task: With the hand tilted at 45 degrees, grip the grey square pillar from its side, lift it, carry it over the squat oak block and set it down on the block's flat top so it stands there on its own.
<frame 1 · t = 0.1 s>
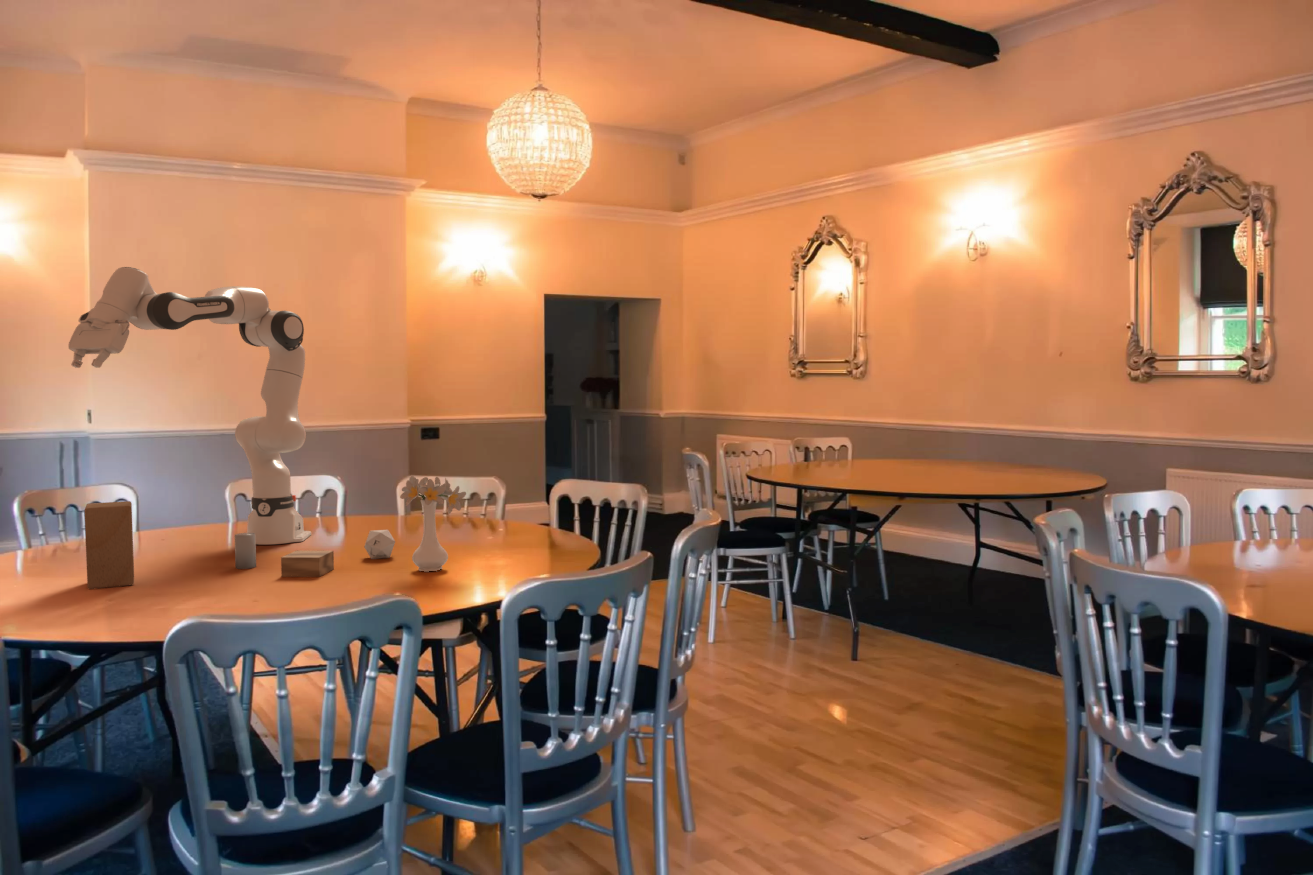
hand: (85, 366, 256), 54 cm above the table, tool tilted 30°, fingers open, 8 cm apart
wooden block: (111, 584, 246), on the table
grey square pillar: (245, 567, 267), on the table
flower vase: (433, 570, 263), on the table
die: (380, 558, 281), on the table
oak block: (308, 572, 259), on the table
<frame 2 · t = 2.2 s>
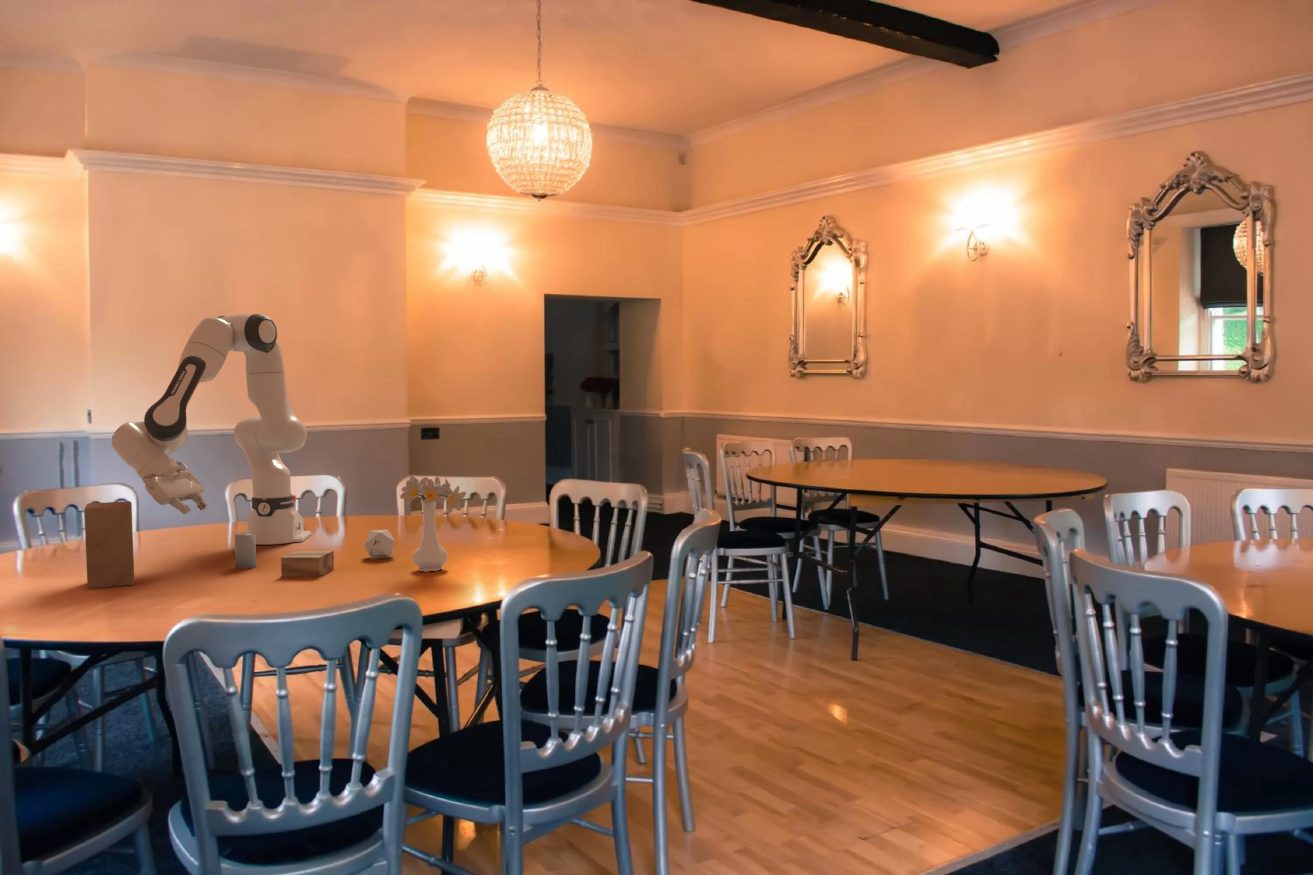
hand: (196, 510, 266), 16 cm above the table, tool tilted 45°, fingers open, 8 cm apart
nothing on the table moved.
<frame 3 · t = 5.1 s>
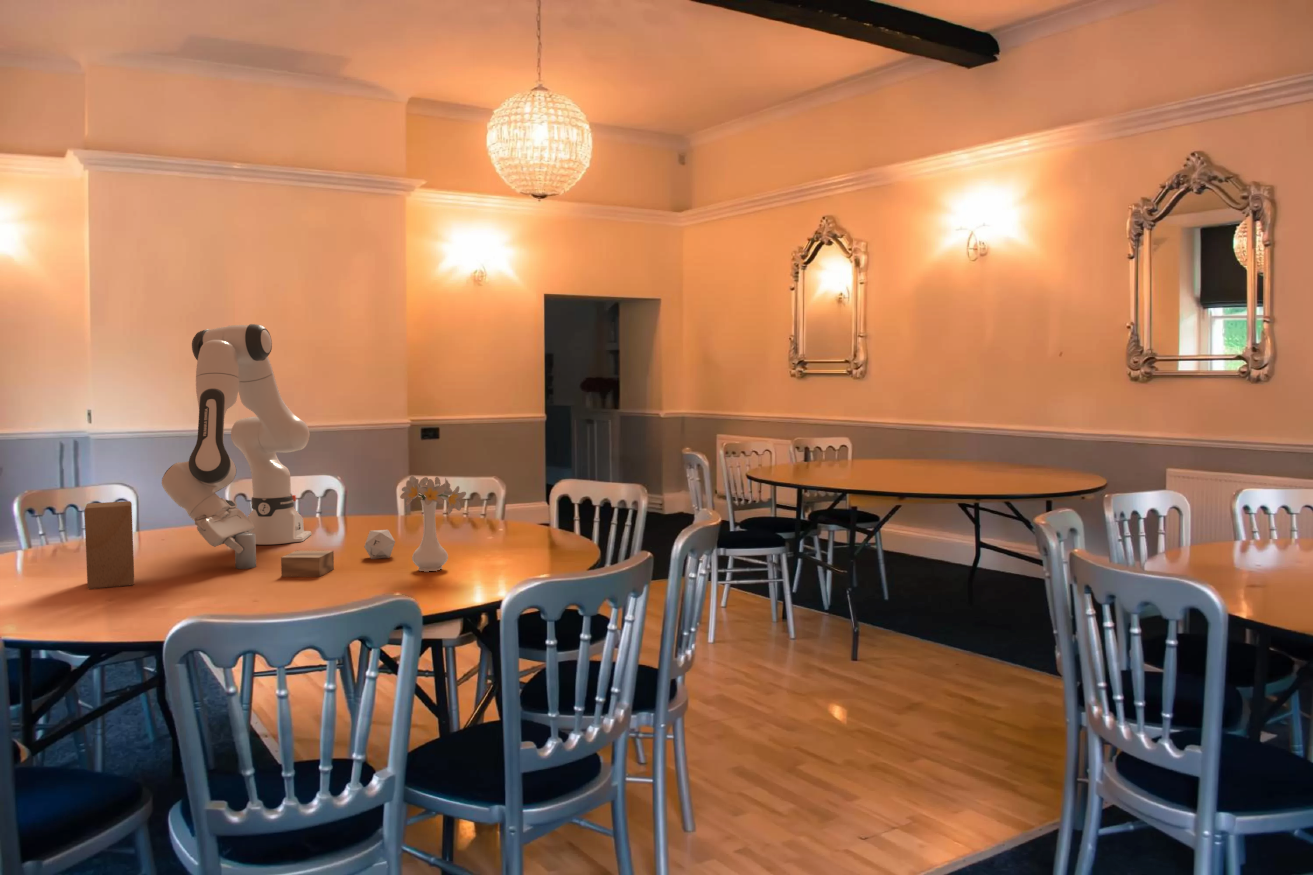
hand: (247, 549, 267), 5 cm above the table, tool tilted 45°, fingers closed on grey square pillar, 5 cm apart
grey square pillar: (245, 567, 267), on the table, touching gripper
everything else where it was.
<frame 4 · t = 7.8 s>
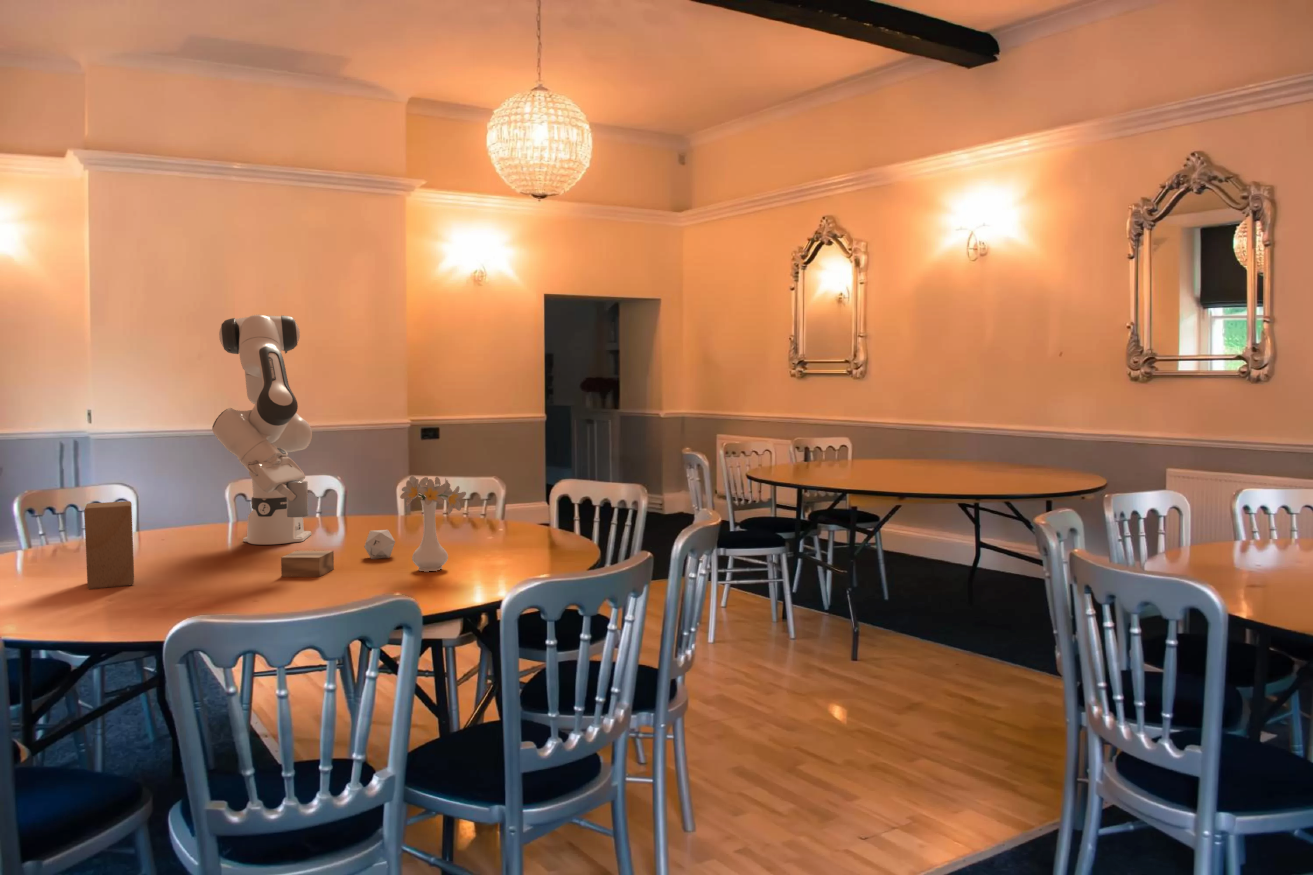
hand: (299, 497, 258), 20 cm above the table, tool tilted 45°, fingers closed on grey square pillar, 5 cm apart
grey square pillar: (297, 515, 259), point 15 cm above the table, touching gripper
everything else where it was.
when the fingers open (11 cm above the table, at t = 10.5 s): grey square pillar stays where it is, resting on oak block.
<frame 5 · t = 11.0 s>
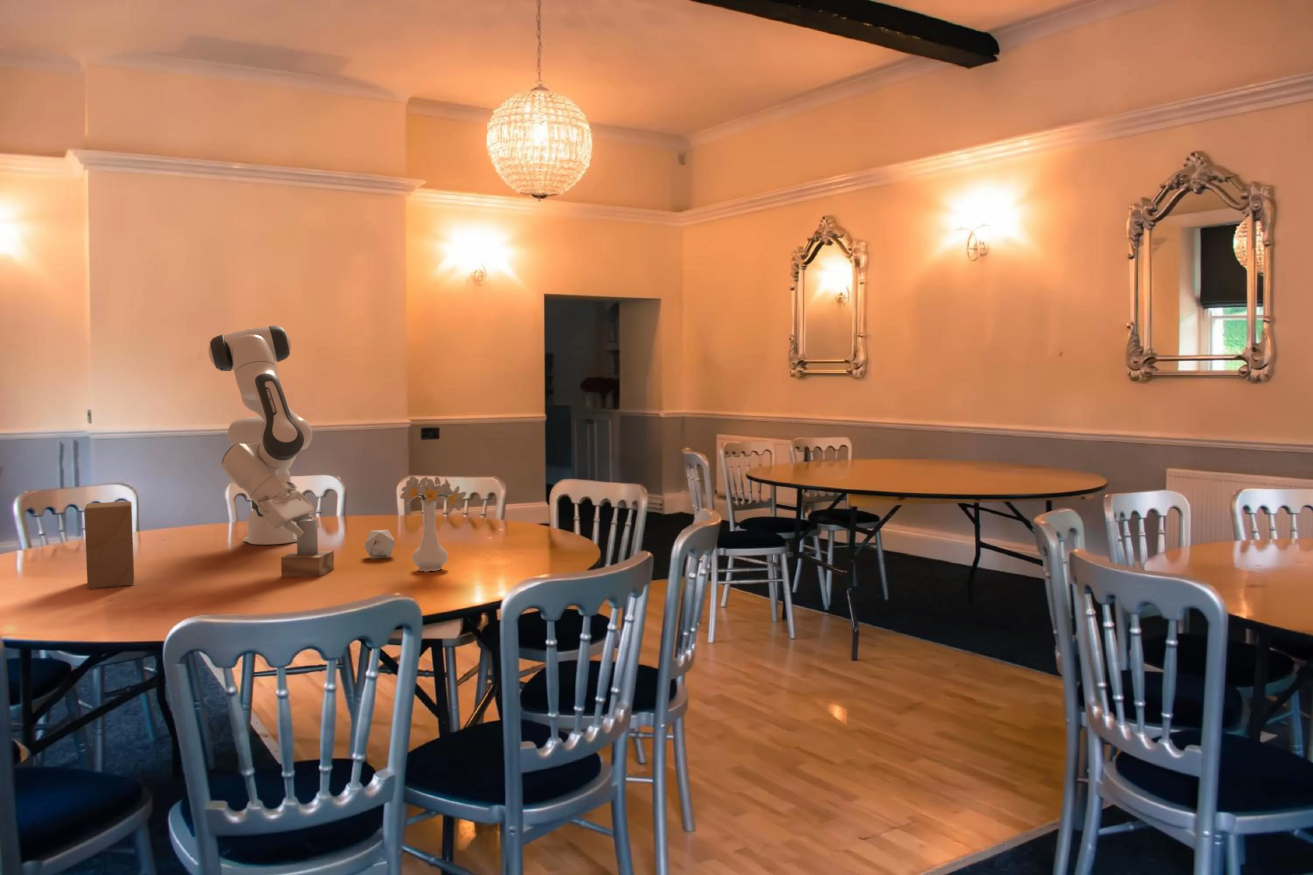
hand: (309, 531, 258), 11 cm above the table, tool tilted 45°, fingers open, 8 cm apart
grey square pillar: (307, 553, 259), point 5 cm above the table, touching oak block
everything else where it was.
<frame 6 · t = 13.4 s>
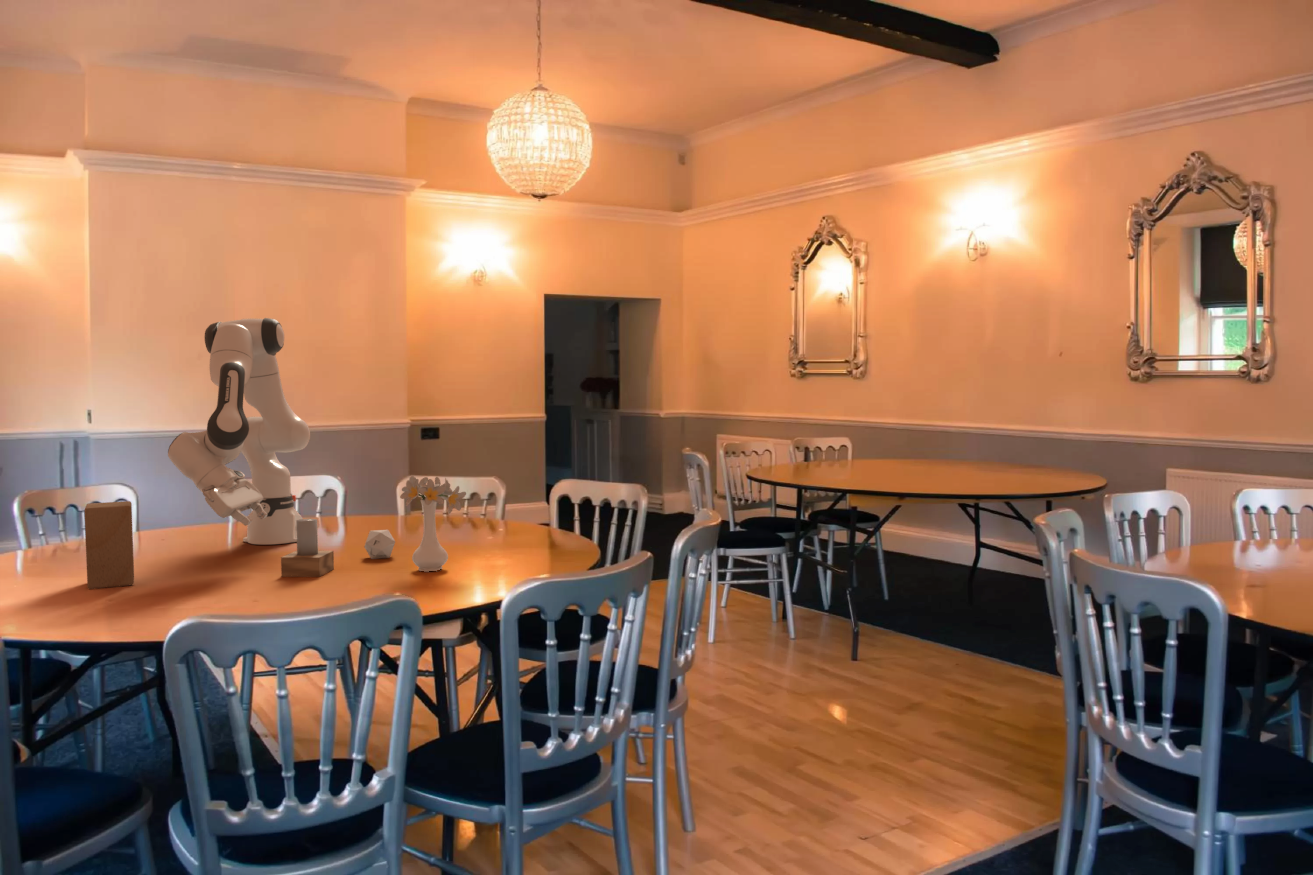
hand: (257, 520, 260), 14 cm above the table, tool tilted 45°, fingers open, 8 cm apart
nothing on the table moved.
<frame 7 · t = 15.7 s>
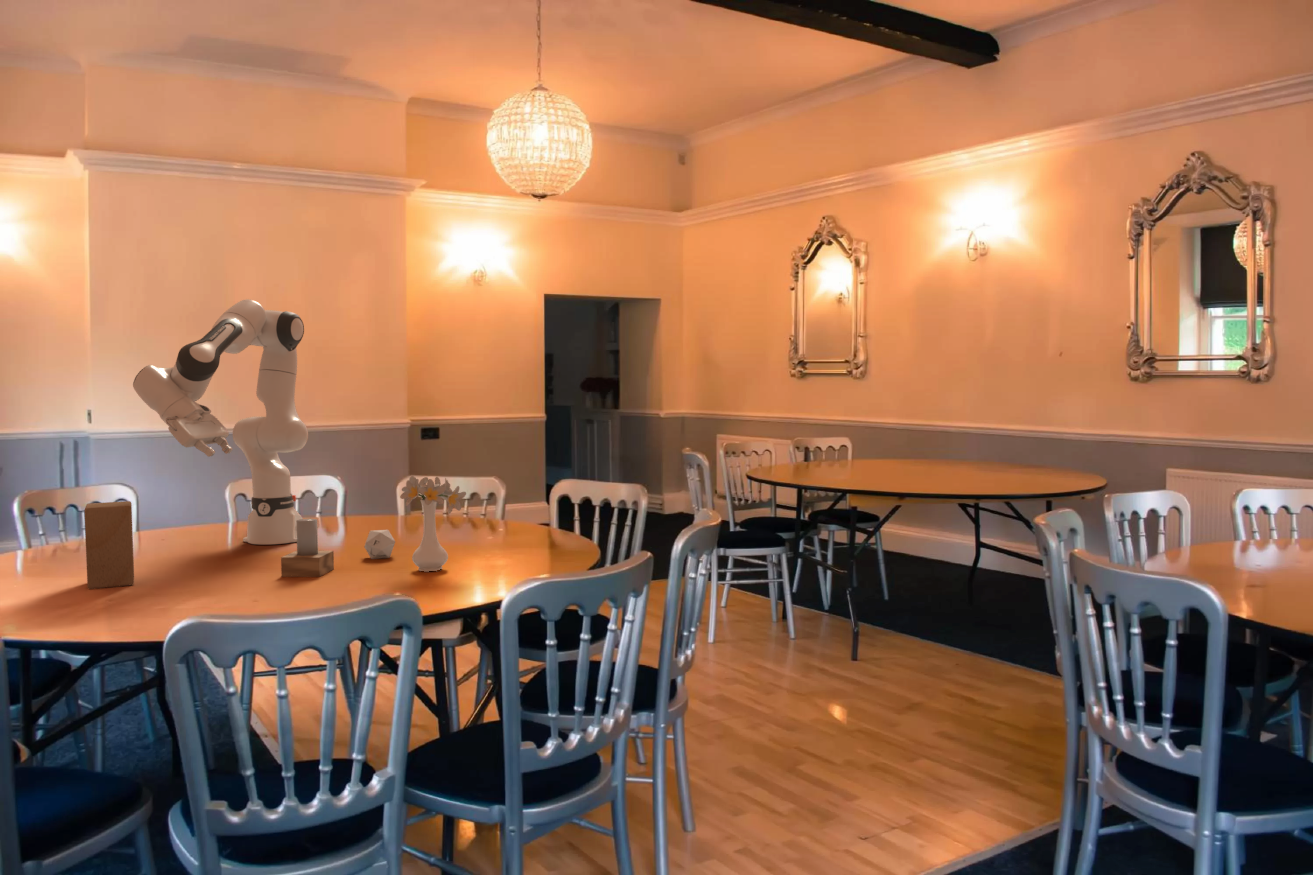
hand: (221, 453, 260), 31 cm above the table, tool tilted 45°, fingers open, 8 cm apart
nothing on the table moved.
at the end: grey square pillar inside the target area on the oak block (0.1 cm from its centre), point 5.0 cm above the oak block's base; grey square pillar tilted 0°; the gripper is holding nothing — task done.
